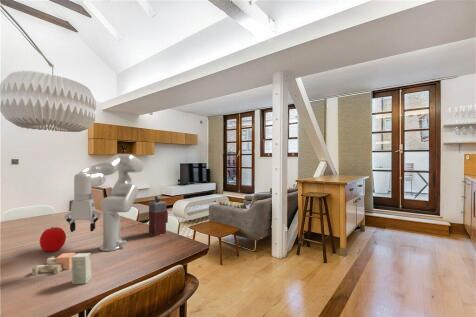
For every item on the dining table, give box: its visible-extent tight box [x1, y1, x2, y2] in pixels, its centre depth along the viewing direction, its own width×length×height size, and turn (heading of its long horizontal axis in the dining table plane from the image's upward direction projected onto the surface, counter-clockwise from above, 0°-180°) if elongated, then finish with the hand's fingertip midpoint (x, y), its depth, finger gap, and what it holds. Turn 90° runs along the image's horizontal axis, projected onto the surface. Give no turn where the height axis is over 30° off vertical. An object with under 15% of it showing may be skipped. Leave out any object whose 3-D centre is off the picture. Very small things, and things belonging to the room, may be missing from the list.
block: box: [55, 252, 76, 271], centre depth 120 cm, size 6×6×6 cm
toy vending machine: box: [148, 195, 169, 237], centre depth 172 cm, size 9×11×28 cm
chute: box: [31, 255, 63, 276], centre depth 119 cm, size 11×14×3 cm
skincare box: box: [71, 252, 92, 285], centre depth 106 cm, size 6×4×12 cm
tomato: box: [39, 226, 67, 252], centre depth 141 cm, size 13×11×14 cm
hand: (82, 230), depth 121 cm, fingers open, 8 cm apart
